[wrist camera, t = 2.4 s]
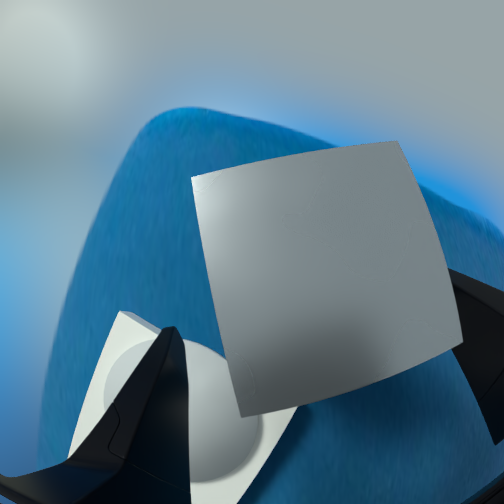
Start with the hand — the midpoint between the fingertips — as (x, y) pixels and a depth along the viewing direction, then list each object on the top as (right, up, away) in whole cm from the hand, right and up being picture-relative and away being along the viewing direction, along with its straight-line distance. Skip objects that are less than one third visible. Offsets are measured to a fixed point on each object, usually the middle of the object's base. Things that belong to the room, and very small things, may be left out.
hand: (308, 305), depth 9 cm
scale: (-8, -11, +6) cm, 15 cm away
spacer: (0, -2, +8) cm, 8 cm away
